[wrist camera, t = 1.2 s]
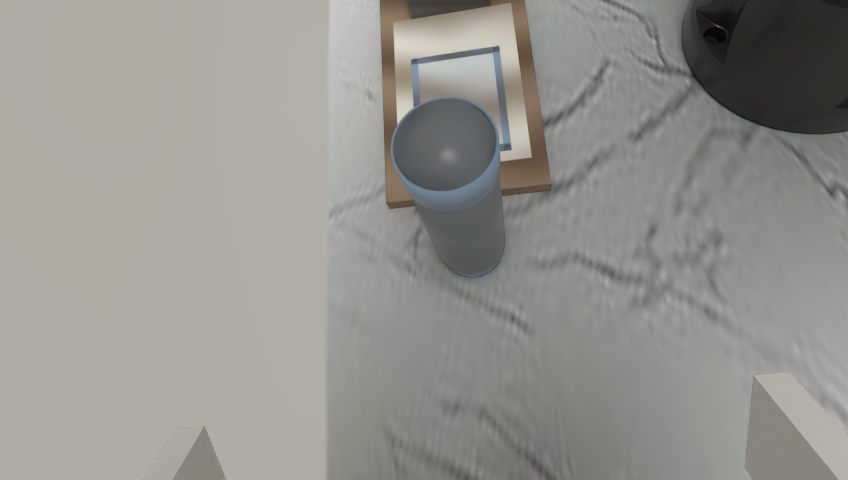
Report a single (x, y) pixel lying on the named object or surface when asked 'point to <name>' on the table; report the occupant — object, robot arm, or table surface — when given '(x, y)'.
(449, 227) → the cup
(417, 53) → the wooden board
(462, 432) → the table surface
